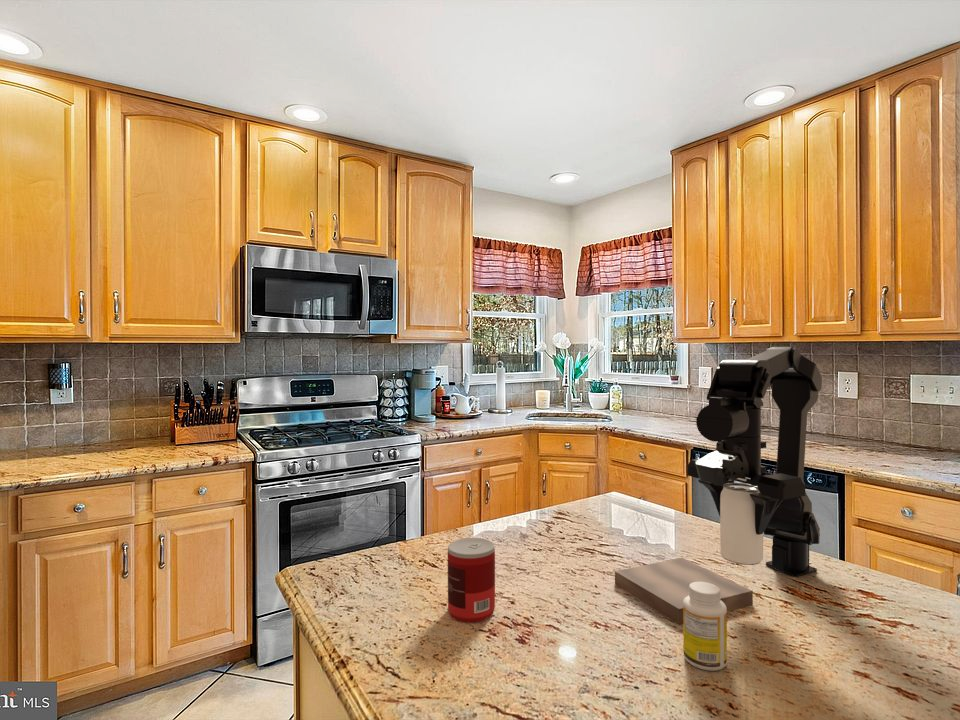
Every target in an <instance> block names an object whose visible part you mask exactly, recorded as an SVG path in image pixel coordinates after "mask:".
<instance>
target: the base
mask: <svg viewBox="0 0 960 720" xmlns="http://www.w3.org/2000/svg"><path fill="white" fill-rule="evenodd" d="M693 582H707V583H711V584H714V585H716V586H717V587H718V588H719V589H720V596H721V599H720V600H721V601H722V602H723V603H724V604H725V605H726V608H727V613H729V612H733V611H737V610H740V609H745V608H748V607H752V606H753V604H754V603H753V600H754V599H753V598H754V595H753V594H754V592H753V590H752V589H750V588H748V587H745V586H743V585H741V584H739V583H737V582H735V581H733V580H730V579H728V578H727V577H724V576H722V575H721V574H719V573H716V572H713V571H711V570H709V569H707V568H705V567H703V566H701V565H698V564H696V563H694V562H692V561H690V560H688V559H686V558H684V557H678V558H674V559H669V560H664V561H659V562H654V563H649V564H645V565H644V564H643V565H639V566H633V567H630V568H625V569H624V568H623V569H618V570H615V571H614V586H617V587H618V588H620V589H621V590H622V591H624V592H626V593H627V594H629V595H631V596H632V597H634V598H635V599H637V600H638V601H640V602H642V603H643V604H645V605H647V606H648V607H650V608H652V609H653V610H655V612H658V613H660V614H661V615H662V616H664V617H666V618H667V619H669V620H671V621H672V622H674V623H675V624H677V625H679V626H680V625H683V601H684V599H685V597H687V596H688V595H689V585H690V584H691V583H693Z"/></svg>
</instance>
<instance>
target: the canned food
mask: <svg viewBox="0 0 960 720" xmlns="http://www.w3.org/2000/svg"><path fill="white" fill-rule="evenodd" d="M495 609H496V549H495V543H494V542H492V541H491V540H489V539H486V538H482V537H466V538H460V539H457V540H453V541H452V542H450V543H449V544H448V546H447V610H448V613H449V616H450V617H451V618H452V619H453V620H455V621H457V622H460V623H466V624H472V623H473V624H475V623H480V622H484V621H487V620H488V619H490V618H491V617H492V616H493V614H494V611H495Z"/></svg>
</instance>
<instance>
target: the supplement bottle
mask: <svg viewBox="0 0 960 720" xmlns="http://www.w3.org/2000/svg"><path fill="white" fill-rule="evenodd" d="M720 599H721V596H720V589H719V588H718V587H717V586H716V585H714V584H711V583H707V582H693V583H691V584H690V585H689V595H688V596H687V597H685V599H684V601H683V624H682V626H683V627H682V628H683V629H682V631H683V632H682V633H683V635H682V636H683V639H682V640H683V641H682V642H683V645H682V646H683V656H684V659H685V660H686V661H687V662H688V663H689V664H690V665H691V666H693V667H695V668H697V669H700V670H704V671H709V672H711V671H713V672H714V671H720V670H722V669H724V668H725V667H726V665H727V663H728V651H727V650H728V645H727V644H728V643H727V642H728V640H727V639H728V631H727V630H728V625H727V624H728V622H727V621H728V617H727V616H728V615H727V614H728V612H727V608H726V605H725V604H724V603H723V602H722V601H721V600H720Z"/></svg>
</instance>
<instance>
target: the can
mask: <svg viewBox="0 0 960 720" xmlns="http://www.w3.org/2000/svg"><path fill="white" fill-rule="evenodd" d="M723 487H724V488H723V490H722V492H721V495H720V516H719V534H720V535H719V548H720V549H719V552H720V553H719V554H720V555H721V557H722V558H723V560H726V561H727V562H730V563H734V564H737V565H744V566H755V565H758V564H760V563H761V562H763V560H764V533H763V534H760V535H758V534H756V529H755V502H754V501H753V499H752V498H751V496H750V494H754V493H759V490H758V486H754V485H750V484H746V483H742V482H734V483H726V484H724V485H723Z"/></svg>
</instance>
